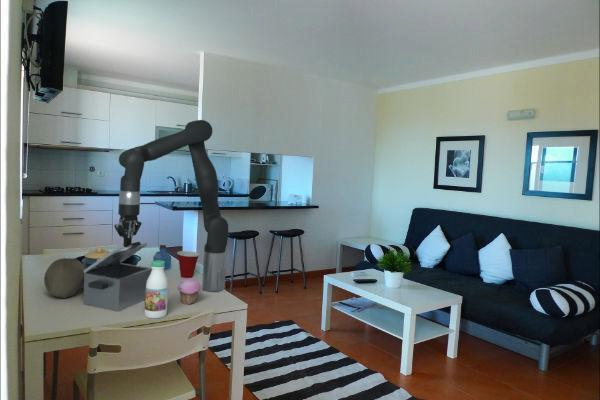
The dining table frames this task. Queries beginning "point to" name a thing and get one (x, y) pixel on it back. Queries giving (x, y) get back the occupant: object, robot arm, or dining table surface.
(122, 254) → the box lid
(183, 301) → the cupcake
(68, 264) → the cantaloupe
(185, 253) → the plastic cup
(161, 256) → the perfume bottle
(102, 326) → the dining table surface
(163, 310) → the milk bottle
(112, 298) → the grey storage box
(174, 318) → the dining table surface
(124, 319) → the dining table surface
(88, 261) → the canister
